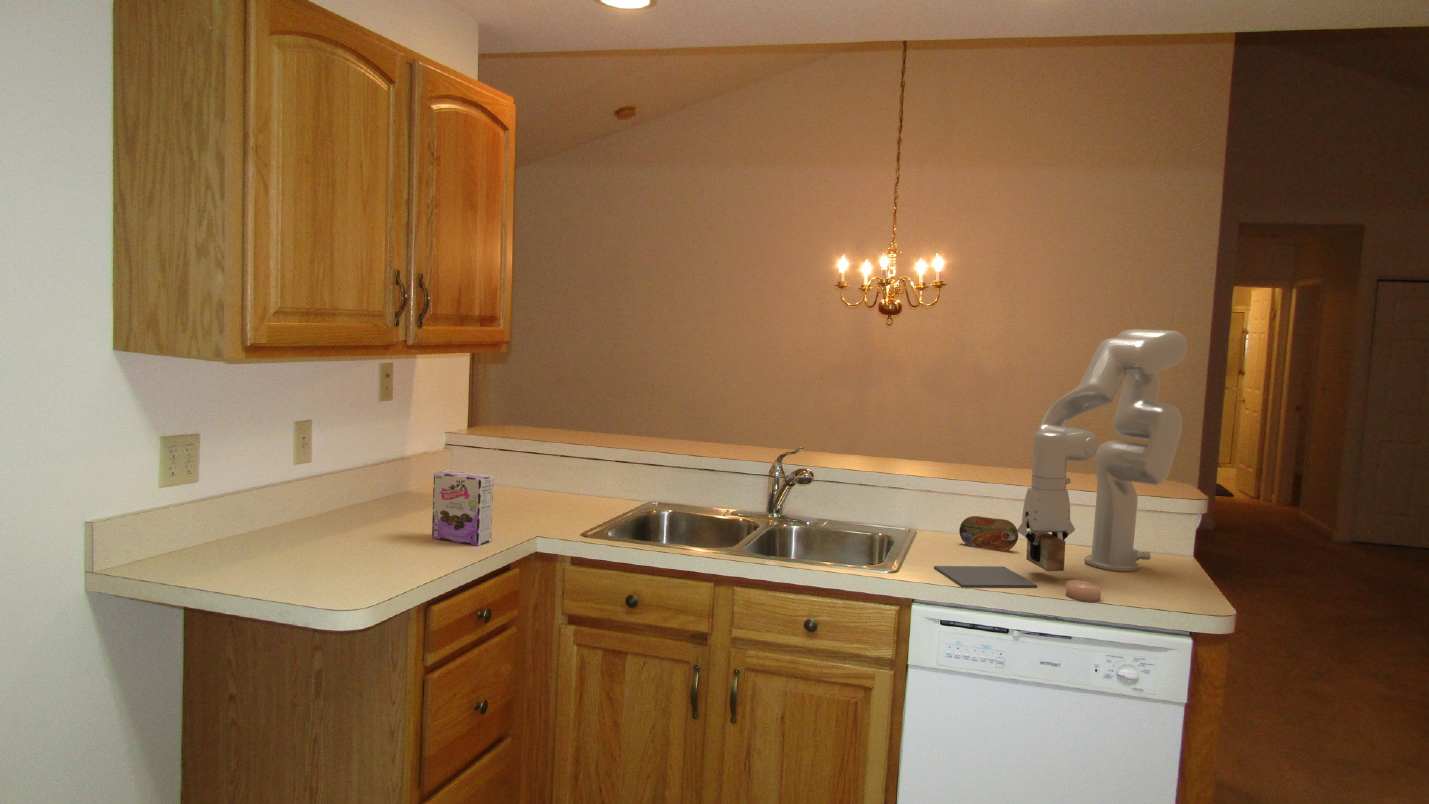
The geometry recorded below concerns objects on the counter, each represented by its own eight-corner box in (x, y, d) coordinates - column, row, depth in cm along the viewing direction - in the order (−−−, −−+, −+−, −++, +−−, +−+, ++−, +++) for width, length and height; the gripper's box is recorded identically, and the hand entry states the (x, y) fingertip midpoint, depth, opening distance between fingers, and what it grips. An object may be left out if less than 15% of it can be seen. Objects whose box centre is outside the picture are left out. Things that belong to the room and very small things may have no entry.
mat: (1003, 568, 225) (1004, 566, 225) (1037, 587, 209) (1037, 585, 209) (933, 568, 222) (933, 565, 222) (962, 587, 206) (962, 584, 206)
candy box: (430, 538, 225) (432, 472, 224) (446, 534, 231) (448, 468, 230) (477, 546, 220) (479, 478, 219) (492, 541, 226) (494, 474, 224)
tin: (957, 545, 248) (960, 514, 248) (960, 543, 251) (962, 512, 251) (1015, 554, 242) (1018, 522, 241) (1018, 551, 244) (1020, 520, 244)
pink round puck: (1088, 593, 207) (1089, 580, 207) (1106, 602, 200) (1107, 589, 200) (1059, 593, 206) (1060, 579, 206) (1076, 602, 199) (1077, 588, 199)
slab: (1041, 558, 223) (1043, 530, 223) (1063, 570, 214) (1065, 541, 213) (1026, 559, 223) (1027, 531, 222) (1047, 571, 213) (1048, 541, 212)
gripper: (1073, 479, 221) (1069, 554, 223) (1007, 481, 218) (1004, 556, 220) (1090, 485, 214) (1086, 563, 216) (1022, 487, 211) (1019, 565, 213)
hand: (1044, 559), depth 218 cm, fingers closed on slab, 4 cm apart
